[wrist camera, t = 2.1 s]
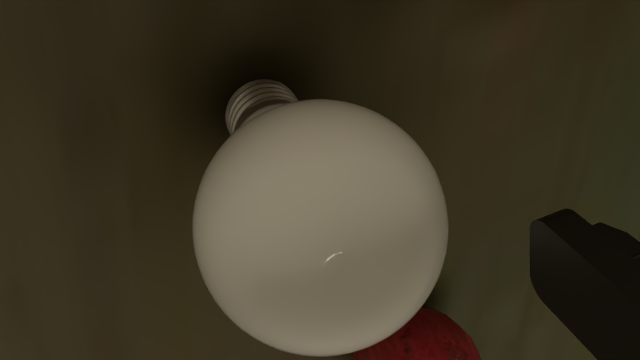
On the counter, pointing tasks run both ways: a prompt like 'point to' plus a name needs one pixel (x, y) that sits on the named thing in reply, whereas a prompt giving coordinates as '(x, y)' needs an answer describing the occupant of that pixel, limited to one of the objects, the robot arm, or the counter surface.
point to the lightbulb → (317, 222)
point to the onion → (424, 341)
